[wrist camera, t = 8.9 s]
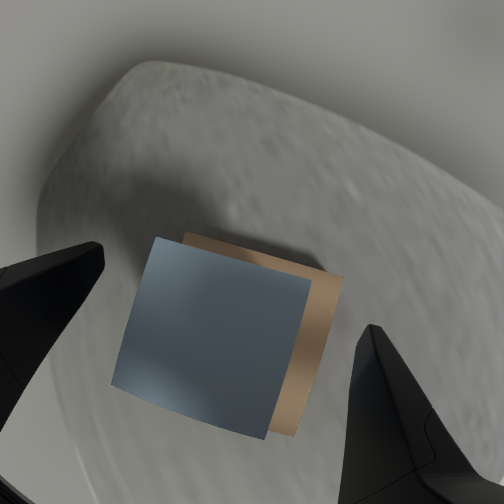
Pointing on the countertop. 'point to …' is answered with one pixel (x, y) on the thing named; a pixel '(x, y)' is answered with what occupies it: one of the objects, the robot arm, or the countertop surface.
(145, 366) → the slate block
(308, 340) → the walnut block
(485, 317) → the countertop surface
